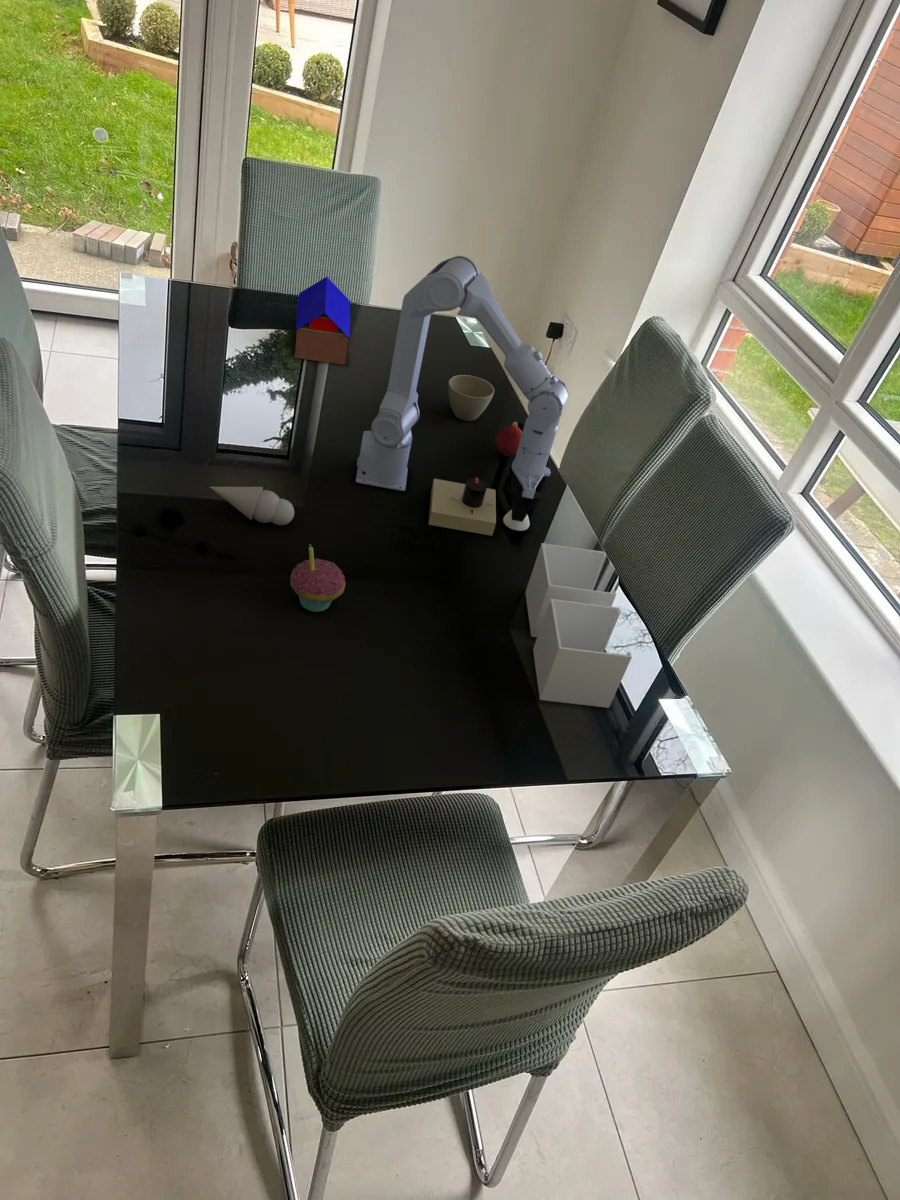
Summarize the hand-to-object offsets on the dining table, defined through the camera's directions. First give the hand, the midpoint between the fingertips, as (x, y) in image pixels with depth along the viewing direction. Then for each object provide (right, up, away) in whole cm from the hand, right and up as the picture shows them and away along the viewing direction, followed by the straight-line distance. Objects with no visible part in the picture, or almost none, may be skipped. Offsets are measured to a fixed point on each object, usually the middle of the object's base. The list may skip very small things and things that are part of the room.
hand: (516, 507), depth 171 cm
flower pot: (-9, +23, +29) cm, 39 cm away
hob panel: (-10, -1, +1) cm, 10 cm away
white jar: (0, -3, +2) cm, 4 cm away
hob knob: (-8, +1, -1) cm, 8 cm away
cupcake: (-34, -18, -25) cm, 46 cm away
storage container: (+6, -25, -22) cm, 34 cm away
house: (-43, +43, +42) cm, 74 cm away
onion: (-1, +13, +20) cm, 23 cm away
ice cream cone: (-47, -3, -12) cm, 49 cm away
